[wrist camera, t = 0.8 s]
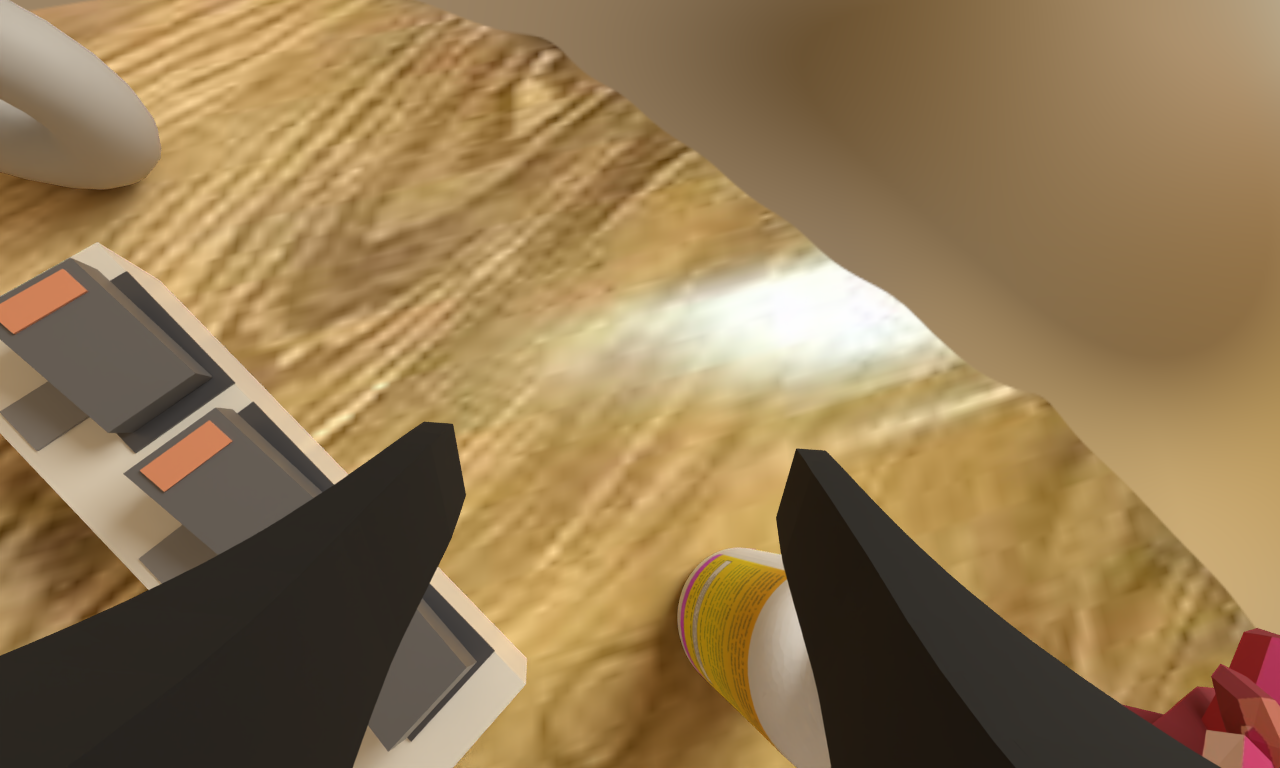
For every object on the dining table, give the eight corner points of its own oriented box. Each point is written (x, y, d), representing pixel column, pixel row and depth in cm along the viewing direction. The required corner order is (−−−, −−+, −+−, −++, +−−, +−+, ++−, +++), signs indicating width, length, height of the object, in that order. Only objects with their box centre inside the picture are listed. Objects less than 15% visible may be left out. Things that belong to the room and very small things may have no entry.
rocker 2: (268, 574, 18) (252, 586, 17) (148, 470, 17) (120, 473, 16) (342, 510, 19) (333, 517, 18) (232, 409, 18) (214, 407, 17)
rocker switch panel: (411, 788, 21) (383, 851, 17) (12, 369, 21) (-102, 339, 17) (527, 657, 23) (526, 687, 19) (160, 279, 23) (87, 234, 20)
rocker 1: (132, 432, 19) (106, 433, 17) (6, 322, 18) (-33, 312, 16) (213, 377, 20) (193, 372, 18) (97, 269, 19) (68, 256, 17)
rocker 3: (405, 739, 17) (387, 752, 16) (313, 620, 18) (288, 623, 17) (477, 661, 18) (465, 667, 17) (384, 554, 19) (367, 552, 18)
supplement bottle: (679, 696, 24) (834, 897, 11) (668, 552, 25) (794, 593, 13) (804, 676, 25) (1061, 834, 13) (786, 541, 27) (1001, 568, 14)
